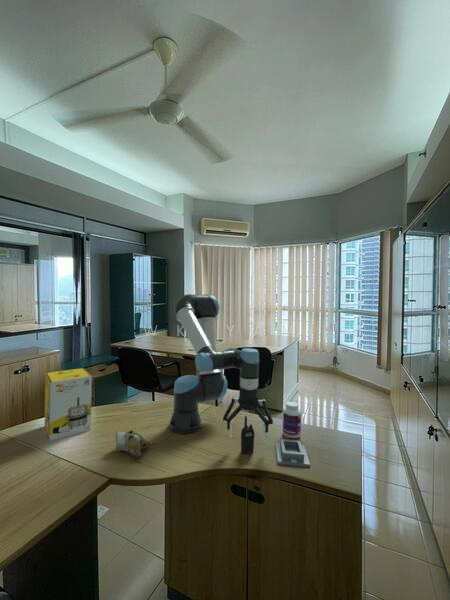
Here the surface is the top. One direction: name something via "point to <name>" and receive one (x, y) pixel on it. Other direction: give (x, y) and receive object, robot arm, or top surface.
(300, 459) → the charging cradle
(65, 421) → the packaging box
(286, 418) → the pill bottle
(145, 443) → the ceramic sculpture
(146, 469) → the top surface
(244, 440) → the two-way radio
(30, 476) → the top surface
